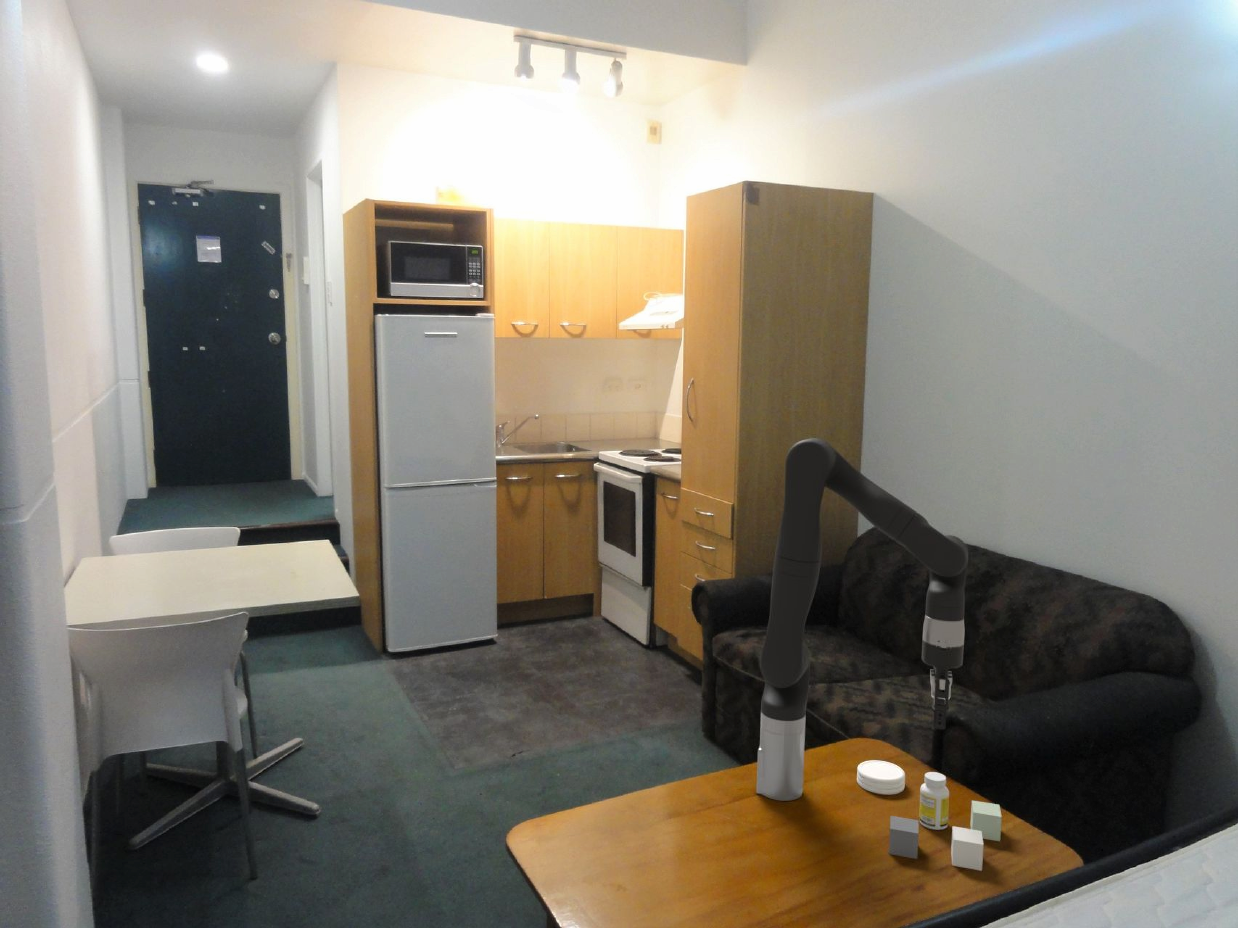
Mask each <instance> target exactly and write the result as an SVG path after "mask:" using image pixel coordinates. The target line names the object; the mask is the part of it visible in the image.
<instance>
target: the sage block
mask: <svg viewBox="0 0 1238 928" xmlns="http://www.w3.org/2000/svg"><path fill="white" fill-rule="evenodd" d="M1002 817H1003V816H1002V812H1001V806H1000V804H997V803H996V804H995V803H990V802H985V801H979V800H971V807H970V824H969V826H970V829H972V830H978V831H982V838H983V839H985V840H990V841H996V842H1001V832H1002Z"/></svg>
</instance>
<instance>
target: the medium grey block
mask: <svg viewBox="0 0 1238 928" xmlns="http://www.w3.org/2000/svg"><path fill="white" fill-rule="evenodd" d="M889 819H890V821H889V838H888V839H889V841H888V843H889V844H888V854H889V855H894V856H899V857H905V858H909V859H910V858H911V859H915V860H918V853H919V851H918V850H919V849H918V847H919V829H920V828H919V819H913V818H906V817H900V816H894V815H890V818H889Z"/></svg>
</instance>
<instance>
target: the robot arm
mask: <svg viewBox="0 0 1238 928" xmlns="http://www.w3.org/2000/svg"><path fill="white" fill-rule="evenodd" d="M784 465H785V466H784V498H783V499H784V501H783V508H782V509H783V510H782V516H781V520H780V524H779V529H778V536H777V541H776V547H775V553H774V554H775V555H774V562H773V567H772V568H773V569H772V578H771V579H772V580H771V581H772V582H771V589H770V590H771V591H770V603H769V604H770V605H769V617H768V618H769V619H768V623H767V628H766V633H765V637H764V642H763V645H762V648H761V653H760V656H759V668H760V672H761V674H762V677H763V678H764V680H765V683H764V689H763V693H762V697H761V699H760V700H761V705H760V730H759V731H760V732H759V734H760V735H759V738H760V739H759V747H758V749H757V765H756V766H757V767H756V794H759V795H762V796H765V797H766V798H769V799H772V800H774V801H782V802H783V801H787V802H789V801H794V800H797V799H799V798H801V797H802V795H803V787H804V765H805V764H804V763H805V762H804V761H805V743H806V742H805V738H806V716H807V715H806V713H807V712H806V711H807V703H808V698H809V690H810V672H811V671H810V670H811V656H810V650H809V648H808V645H807V644H806V643H805V642H804V633H805V625H806V622H807V619H808V618H807V617H808V615H809V612H810V609H811V606H812V602H813V599H814V597H815V593H816V589H817V586H818V583H819V575H820V569H821V564H822V555H823V553H822V552H823V541H822V528H821V506H822V502H823V496H824V492H825V488H826V489H828V490H830V491H832V492H833V493H835V494H836V495H838V496H839V497H841V498H842V499H844V500H845V501H847V502H848V503H849V504H850V505H852V507H853V508H854V509H855V510H857V511H858V513H860V515H862V516H863V518H865V520H867V521H868V523H871V525H872V526H874V527H875V528H876V529H877V530H879V531H881V533H884V534H885V535H886V536H888V538H890V539H891V540H893V541H895V542H896V543H898V544H899V545H901V546H903V547H904V548H905V549H906V550H907V551H908V552H909V553H910V554H912V556H914V557H915V558H916V559H917V560H918V561H919V562H920V563H921V564H922V565H924V567H926V568H928V570H929V583H928V584H929V585H928V588H927V592H926V597H925V598H926V599H925V613H924V614H925V615H924V621H923V627H922V645H921V660H922V661H923V663H924V664H926V665H928V666H932V667H933V669H931V668H930V671H929V675H930V676H929V677H930V679H929V680H930V681H929V682H930V686H931V690H930V691H931V693H930V694H931V695H930V696H931V698H932V707H931V708H932V709H931V710H932V712H933V722H932V726H933V729H936V730H937V729H938V730H945V729H946V727H947V726H946V724H947V712H949V700H950V699H951V693H952V692H951V687H952V684H953V672H952V671H951V670H950V669H957V668H961V667H962V666H963V663H964V649H965V648H964V647H965V630H966V629H965V609H966V607H965V606H966V598H965V596H966V595H965V587H966V582H967V581H966V579H967V573H968V564H969V563H968V562H969V549H968V547H967V545H966V543H965V542H964V540H962V539H961V538H959V537H958V536H955V535H951V534H947V535H946V534H945V535H944V534H943V533H941V532H940V531H939V530H937V529H936V528H935V527H934V526H932V525H931V524H929V522H928V520H927V519H926V518H925V517H924V516H923V515H922V514H920V513H919V512H917V510H915V509H913V508H912V507H910V506H909V505H907V504H906V503H904V502H903V501H902V500H900V499H899V498H897V497H895V496H894V495H893V494H892V493H890V492H888V491H886V490H885V489H883V488H882V487H881V486H879V485H878V484H876V483H875V482H874V481H872V480H870V479H869V478H867V477H866V476H865V475H864V474H863V473H861V471H859V470H858V469H856V467H854V466H853V465H852V464H851V463H849V461H847V459H846V458H845V457H843V456H842V455H841V453H840V452H838V451H837V450H836V449H835V448H834V447H833V446H832V445H831V443H829V442H828V441H826V440H825V439H822V438H819V437H818V438H817V437H809V438H805V439H803V440H799V441H798V442H796V443H794V444H793V445H792V446H791V447H790V449H789V450H788V452H787V454H786V458H785V464H784ZM949 670H950V671H949Z"/></svg>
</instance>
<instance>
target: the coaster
mask: <svg viewBox="0 0 1238 928" xmlns="http://www.w3.org/2000/svg"><path fill="white" fill-rule="evenodd" d="M856 770H857V773H856V782H857V784H858V785H859V787H861V788H862V789H864V790H866V791H868V792H870V793H874V794H877V795H886V796H887V795H888V796H889V795H890V796H892V795H897V794H900V793H901V792H903V791H904V789H905V787H906V785H905V783H906V773H905V771H904V770H903V768H901V767H900V766H898V765H896V764H895V763H892V762H889V761H884V760H879V759H878V760H877V759H876V760H875V759H871V760H866V761H863V762H861V763H859V764H858V766H857V768H856Z"/></svg>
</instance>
